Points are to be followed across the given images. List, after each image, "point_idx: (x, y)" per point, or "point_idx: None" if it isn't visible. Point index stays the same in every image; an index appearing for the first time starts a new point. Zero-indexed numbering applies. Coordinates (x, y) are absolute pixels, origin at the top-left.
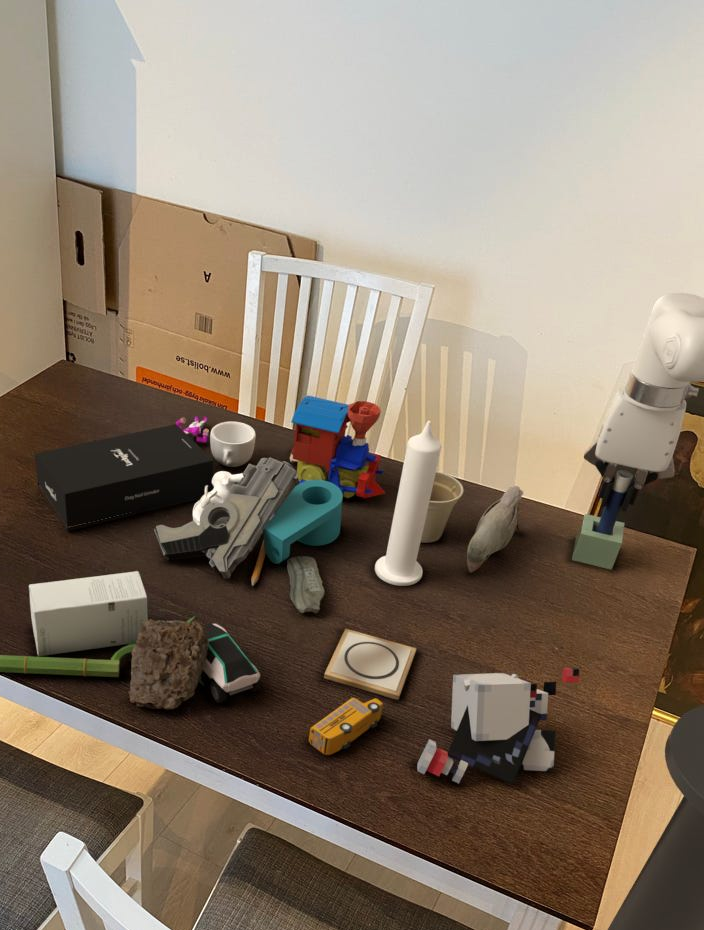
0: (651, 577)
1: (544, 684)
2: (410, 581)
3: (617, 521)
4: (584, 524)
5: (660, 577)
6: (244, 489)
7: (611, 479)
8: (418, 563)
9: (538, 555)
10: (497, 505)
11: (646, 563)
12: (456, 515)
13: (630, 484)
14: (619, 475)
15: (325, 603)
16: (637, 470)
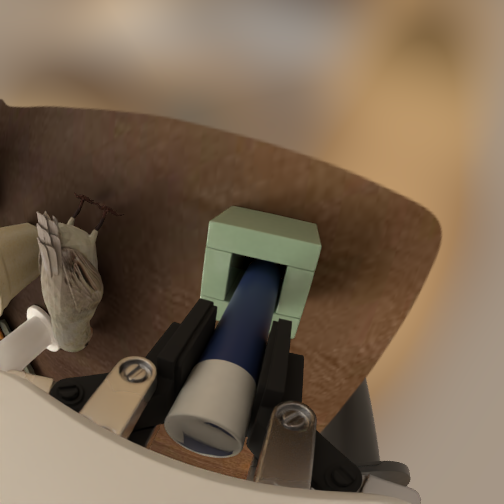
0: (370, 306)
1: None
2: (56, 350)
3: (301, 243)
4: (206, 275)
5: (387, 303)
6: None
7: (159, 427)
8: (48, 323)
9: (162, 276)
10: (42, 270)
11: (375, 262)
12: (51, 188)
13: (252, 419)
14: (178, 442)
15: (34, 363)
16: (259, 456)
